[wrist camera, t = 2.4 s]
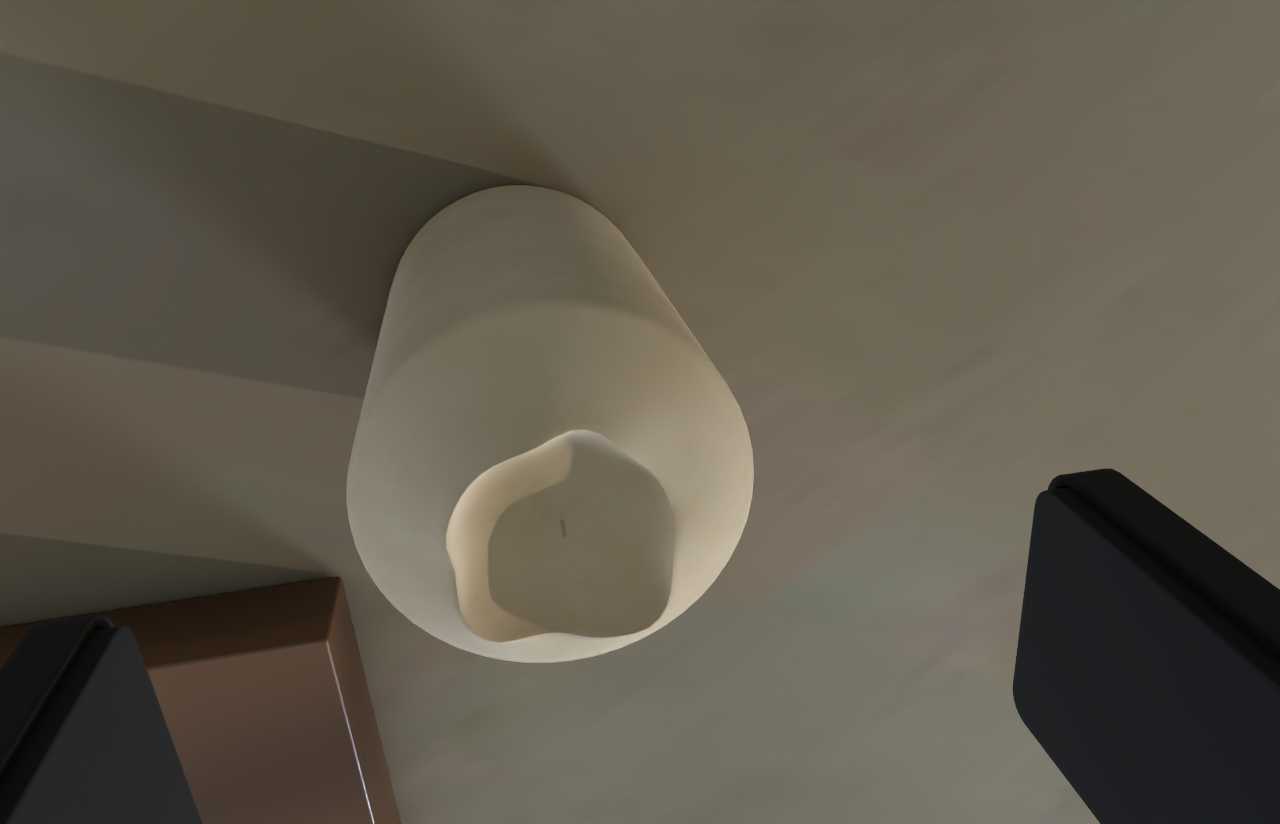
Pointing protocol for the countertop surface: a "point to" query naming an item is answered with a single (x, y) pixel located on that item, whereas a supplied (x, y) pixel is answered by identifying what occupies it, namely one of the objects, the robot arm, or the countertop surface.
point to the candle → (541, 437)
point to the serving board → (263, 704)
